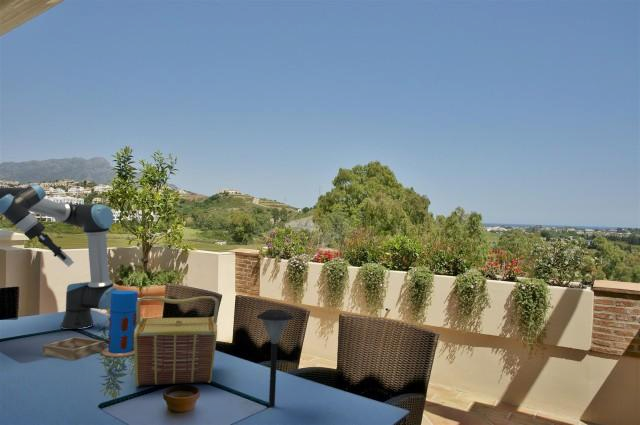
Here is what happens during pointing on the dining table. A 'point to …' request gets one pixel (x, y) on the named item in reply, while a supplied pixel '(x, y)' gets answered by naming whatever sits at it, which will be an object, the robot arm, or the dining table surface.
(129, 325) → the thermos
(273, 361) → the solar garden light
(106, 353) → the saucer
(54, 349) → the square frame
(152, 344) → the picnic basket
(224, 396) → the dining table surface
